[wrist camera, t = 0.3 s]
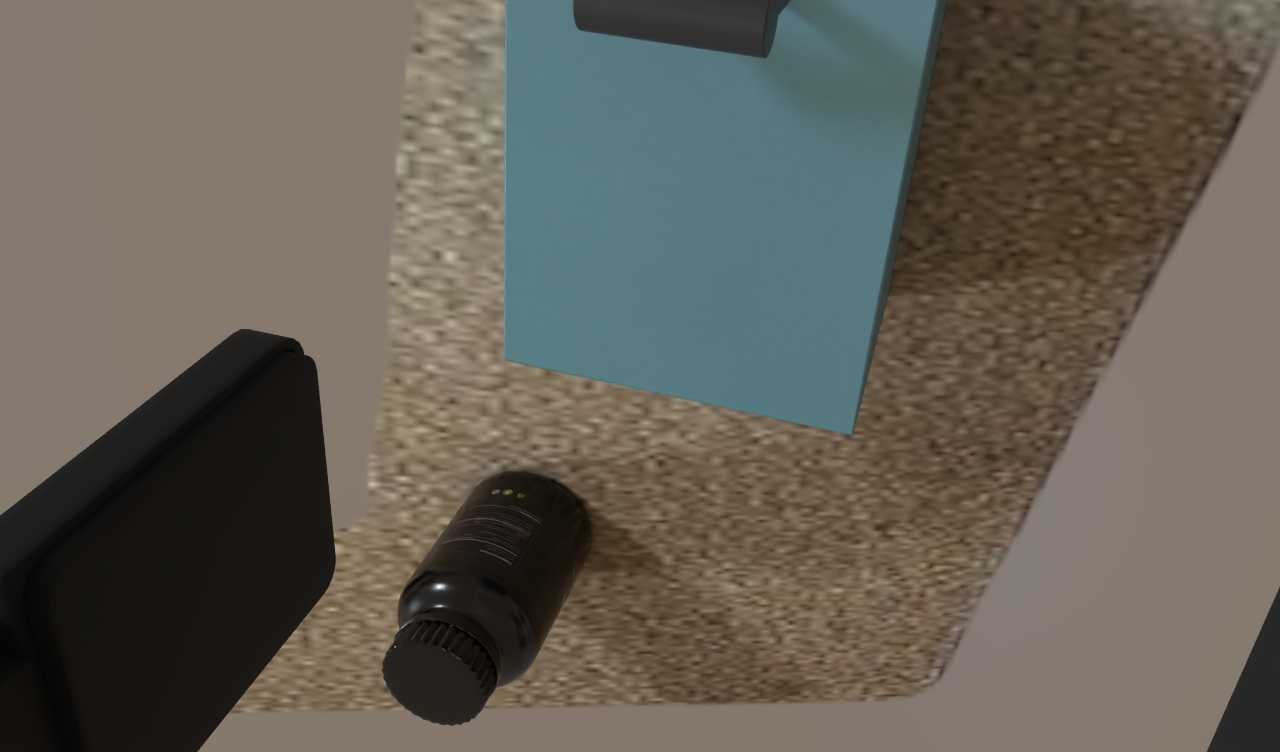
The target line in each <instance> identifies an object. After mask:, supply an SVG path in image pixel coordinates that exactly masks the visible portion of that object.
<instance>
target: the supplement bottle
mask: <svg viewBox="0 0 1280 752" xmlns="http://www.w3.org/2000/svg"><path fill="white" fill-rule="evenodd" d="M590 543H591V536H590V529H589V525H588V522H587V519H586V517H585V514H584V513H583V511H582V509H581V508H580V506H579V505H578V503H577V502H576V501H575V499H574V498H573V497H572V496H571V495H570V494H569V493H568V492H567V491H565V490H564V489H563V488H562V487H560V486H559V485H557V484H556V483H554V482H552V481H550V480H548V479H546V478H544V477H541V476H539V475H535V474H532V473H526V472H505V473H500V474H496V475H494V476H491V477H489V478H487V479H486V480H484V481H483V482H481V483H480V484H479V485H478V486H477V487H476V488H475V489H474V490H473V491H472V493H471V494H470V495H469V497H468V498H467V499H466V501H465V502H464V503H463V505H462V506H461V508H460V509H459V510H458V512H457V513H456V515H455V516H454V517H453V519H452V520H451V522H450V523H449V524H448V526H447V527H446V529H445V530H444V531H443V533H442V534H441V536H440V537H439V538H438V540H437V541H436V543H435V544H434V545H433V547H432V548H431V550H430V551H429V552H428V554H427V555H426V557H425V558H424V560H423V561H422V562H421V564H420V565H419V567H418V568H417V569H416V571H415V572H414V574H413V575H412V576H411V578H410V580H409V581H408V583H407V584H406V586H405V587H404V589H403V591H402V593H401V596H400V599H399V604H398V624H399V631H398V632H397V634H396V636H395V638H394V642H393V643H392V645H391V646H390V648H389V649H388V651H387V652H386V655H385V658H384V660H383V668H382V672H383V674H384V677H383V678H384V680H385V682H386V685H387V687H388V689H389V690H390V691H391V694H392V695H393V696H394V697H395V698H396V699H397V701H398V702H399V703H400V704H402V705H403V706H404V708H405V709H407V710H409V711H411V712H412V713H413V714H414V715H416V716H419V717H421V718H422V719H424V720H428V721H430V722H432V723H439V724H441V725H451V726H453V725H455V724H459V725H461V724H462V723H464V722H469V721H470V720H471V719H473V718H475V717H476V716H477V715H478V713H480V712H481V711H482V709H483V707H484V706H485V704H486V702H487V700H488V698H489V697H490V696H491V695H492V694H493V692H494V691H495V689H496V688H498V687H502V686H504V685H507V684H509V683H511V682H513V681H515V680H517V679H518V678H519V677H521V676H522V675H523V674H524V673H525V672H526V671H527V670H528V669H529V668H530V666H531V665H532V663H533V661H534V660H535V658H536V656H537V654H538V653H539V651H540V649H541V647H542V645H543V643H544V641H545V639H546V637H547V635H548V633H549V631H550V629H551V628H552V626H553V624H554V622H555V620H556V618H557V616H558V614H559V612H560V610H561V608H562V606H563V604H564V603H565V601H566V599H567V597H568V595H569V593H570V591H571V589H572V587H573V585H574V583H575V581H576V579H577V577H578V576H579V574H580V572H581V569H582V567H583V565H584V563H585V561H586V559H587V556H588V554H589V550H590Z"/></svg>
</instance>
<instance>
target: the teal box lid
mask: <svg viewBox="0 0 1280 752" xmlns="http://www.w3.org/2000/svg"><path fill="white" fill-rule="evenodd" d="M938 3H939V0H505V202H504V360H506V361H511V362H516V363H520V364H525V365H529V366H534V367H539V368H543V369H548V370H553V371H557V372H562V373H567V374H571V375H576V376H580V377H585V378H590V379H594V380H599V381H604V382H608V383H613V384H617V385H622V386H627V387H631V388H636V389H641V390H645V391H650V392H655V393H659V394H664V395H668V396H673V397H678V398H682V399H687V400H692V401H696V402H701V403H705V404H710V405H715V406H719V407H724V408H729V409H733V410H738V411H743V412H747V413H752V414H756V415H761V416H766V417H770V418H775V419H780V420H784V421H789V422H793V423H798V424H803V425H807V426H812V427H817V428H821V429H826V430H831V431H835V432H840V433H844V434H849V435H852V434H853V432H854V428H855V424H856V419H857V414H858V409H859V404H860V399H861V394H862V389H863V384H864V379H865V374H866V369H867V364H868V358H869V353H870V348H871V343H872V338H873V333H874V328H875V323H876V318H877V313H878V308H879V303H880V298H881V293H882V287H883V282H884V277H885V272H886V267H887V262H888V257H889V252H890V247H891V242H892V237H893V232H894V227H895V221H896V216H897V211H898V206H899V201H900V196H901V191H902V186H903V181H904V176H905V171H906V166H907V161H908V156H909V150H910V145H911V140H912V135H913V130H914V125H915V120H916V115H917V110H918V105H919V100H920V95H921V90H922V84H923V79H924V74H925V69H926V64H927V59H928V54H929V49H930V44H931V39H932V34H933V29H934V24H935V19H936V13H937V8H938Z"/></svg>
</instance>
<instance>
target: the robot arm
mask: <svg viewBox="0 0 1280 752" xmlns="http://www.w3.org/2000/svg"><path fill="white" fill-rule="evenodd" d="M335 563H336V555H335V545H334V535H333V525H332V515H331V505H330V495H329V485H328V475H327V465H326V456H325V445H324V436H323V425H322V415H321V406H320V395H319V385H318V376H317V369H316V364H315V362H314V360H313V359H312V358H311V357H309V356H307V355H304V351H303V348H302V347H301V345H300V343H299V342H298V341H296V340H295V339H293V338H288V337H283V336H278V335H274V334H269V333H264V332H259V331H254V330H250V329H240V330H239V331H237V332H235V333H233V334H232V335H230V336H229V337H228V338H227V339H225V340H224V341H223V342H222V343H220V344H219V345H218V346H217V347H215V348H214V349H213V350H211V351H210V352H209V353H208V354H206V355H205V356H204V357H202V358H201V359H200V360H199V361H197V362H196V363H195V364H193V365H192V366H191V367H190V368H188V369H187V370H186V371H184V372H183V373H182V374H181V375H179V376H178V377H177V378H176V379H174V380H173V381H172V382H170V383H169V384H168V385H167V386H165V387H164V388H163V389H161V390H160V391H159V392H158V393H156V394H155V395H154V396H152V397H151V398H150V399H149V400H147V401H146V402H145V403H144V404H142V405H141V406H140V407H139V408H137V409H136V410H135V411H133V412H132V413H131V414H129V415H128V416H127V417H126V418H125V419H123V420H122V421H121V422H119V423H118V424H117V425H116V426H114V427H113V428H112V429H110V430H109V431H108V432H106V434H104V435H103V436H101V437H100V438H99V439H98V440H96V441H95V442H94V443H92V444H91V445H90V446H89V447H87V448H86V449H85V450H83V451H82V452H81V453H80V454H78V455H77V456H76V457H75V458H73V459H72V460H71V461H70V462H68V463H67V464H66V465H65V466H63V467H62V468H60V469H59V470H58V471H57V472H55V473H54V474H53V475H52V476H50V477H49V478H48V479H46V480H45V481H44V482H43V483H41V484H40V485H39V486H37V487H36V488H35V489H34V490H32V491H31V492H30V493H29V494H27V495H26V496H25V497H23V498H22V499H21V500H20V501H18V502H17V503H16V504H14V505H13V506H12V507H11V508H9V509H8V510H7V511H5V512H4V513H3V514H2V515H0V752H197V751H198V750H199V749H200V748H201V746H202V745H203V744H204V743H205V741H206V740H207V739H208V738H209V736H210V735H211V734H212V733H213V731H214V730H215V729H216V728H217V726H218V725H219V724H220V723H221V722H222V720H223V719H224V718H225V717H226V715H227V714H228V713H229V712H230V710H231V709H232V708H233V707H234V705H235V704H236V703H237V702H238V700H239V699H240V698H241V697H242V695H243V694H244V693H245V692H246V690H247V689H248V688H249V687H250V685H251V684H252V683H253V682H254V680H255V679H256V678H257V677H258V675H259V674H260V673H261V672H262V670H263V669H264V668H265V667H266V665H267V664H268V663H269V662H270V660H271V659H272V658H273V657H274V655H275V654H276V653H277V652H278V650H279V649H280V648H281V647H282V646H283V644H284V643H285V642H286V641H287V639H288V638H289V637H290V636H291V634H292V633H293V632H294V631H295V629H296V628H297V627H298V626H299V624H300V623H301V622H302V621H303V619H304V618H305V617H306V616H307V614H308V613H309V612H310V611H311V609H312V608H313V607H314V606H315V604H316V603H317V602H318V601H319V599H320V598H321V597H322V596H323V594H324V593H325V591H326V590H327V588H328V587H329V584H330V582H331V580H332V577H333V574H334V570H335ZM1207 752H1280V588H1279V590H1278V593H1277V595H1276V597H1275V599H1274V602H1273V604H1272V606H1271V608H1270V611H1269V613H1268V615H1267V617H1266V619H1265V622H1264V624H1263V626H1262V629H1261V631H1260V633H1259V635H1258V637H1257V640H1256V642H1255V644H1254V646H1253V649H1252V651H1251V653H1250V655H1249V658H1248V660H1247V662H1246V665H1245V667H1244V669H1243V671H1242V674H1241V676H1240V678H1239V680H1238V683H1237V685H1236V687H1235V689H1234V692H1233V694H1232V696H1231V699H1230V701H1229V703H1228V705H1227V708H1226V710H1225V712H1224V714H1223V716H1222V719H1221V721H1220V723H1219V726H1218V728H1217V730H1216V732H1215V735H1214V737H1213V739H1212V741H1211V744H1210V746H1209V748H1208V750H1207Z"/></svg>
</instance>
